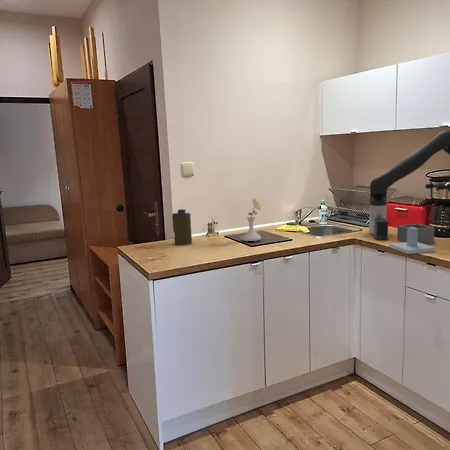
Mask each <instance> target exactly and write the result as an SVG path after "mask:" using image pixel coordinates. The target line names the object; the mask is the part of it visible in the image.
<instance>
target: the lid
mask: <svg viewBox="0 0 450 450" xmlns="http://www.w3.org/2000/svg"><path fill="white" fill-rule="evenodd" d="M417 239H418V228H415V227H407V242H397V243H390V244H389V248H390V249H393V250H395V251H398V252H401V253H404V254H407V255H411V254H412V255H413V254H422V253H423V254H424V253H432V252H433V253H434V252H436V247H434V246H431V245H429V244H427V243H423V244H422V243H419V242H417Z"/></svg>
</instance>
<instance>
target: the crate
mask: <svg viewBox="0 0 450 450" xmlns="http://www.w3.org/2000/svg"><path fill="white" fill-rule="evenodd" d="M407 227H415V228H418V239H417V242H419V243H422V244H432V243H435V227H433V226H429V225H426V224H421V223H412V224H401V225H398V224H397V232H396V233H397V241H401V242H402V243H404V242H407Z"/></svg>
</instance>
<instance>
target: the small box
mask: <svg viewBox="0 0 450 450" xmlns="http://www.w3.org/2000/svg"><path fill="white" fill-rule="evenodd" d="M374 221H375V223H374V234H373V237H374V238H375V240H380V241H382V240H385V241H386V240H387V241H388V238H389V237H388V236H389V235H388V234H389V221H388V220H387V218H386V219H374Z"/></svg>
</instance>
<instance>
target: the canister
mask: <svg viewBox="0 0 450 450" xmlns="http://www.w3.org/2000/svg"><path fill="white" fill-rule="evenodd" d="M186 211H187V210H186V209H183V208H180V209H178V210H177V212H173V213H172V215H171V216H172V231H173V236H174V245H175V246H180V247H181V246H189V245H192V244H193V239H192V236H193V235H192V224H191V221H192V220H191V213H190V212H186Z"/></svg>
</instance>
